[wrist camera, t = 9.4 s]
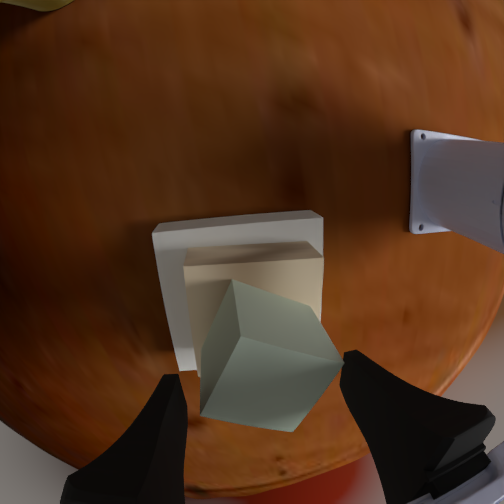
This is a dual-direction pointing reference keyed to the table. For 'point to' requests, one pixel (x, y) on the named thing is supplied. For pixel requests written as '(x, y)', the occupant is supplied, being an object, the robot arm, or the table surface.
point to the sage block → (264, 360)
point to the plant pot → (39, 4)
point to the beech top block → (248, 278)
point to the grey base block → (218, 234)
